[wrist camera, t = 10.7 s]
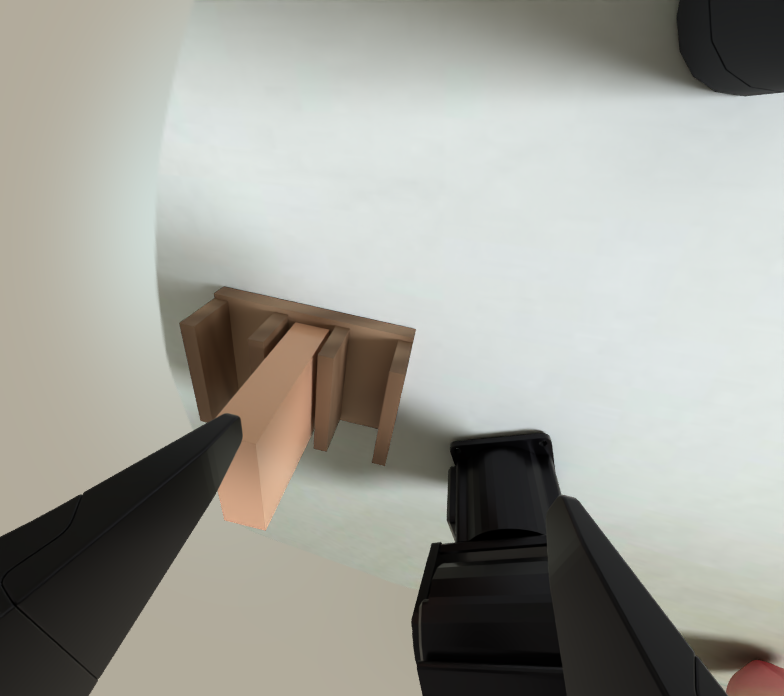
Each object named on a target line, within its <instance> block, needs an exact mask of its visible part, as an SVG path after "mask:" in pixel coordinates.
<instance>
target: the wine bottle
mask: <svg viewBox="0 0 784 696" xmlns="http://www.w3.org/2000/svg"><path fill="white" fill-rule="evenodd" d="M677 26H678V36H679V46H680V52H681V54H682V56H683V58H684V60H685V62H686V63H687V65H688V67H689V69H690V71H691V73H692V75H693V76H694V77H695V78H696V79H698V80H699V81H701V82H702V83H704V84H705V85H707V86H708V87H709V88H711V89H712V90H714V91H715V92H721V93H728V94H734V95H740V96H752V95H762V94H772V93H782V92H784V0H680V2H679V8H678V13H677Z"/></svg>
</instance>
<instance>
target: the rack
mask: <svg viewBox="0 0 784 696" xmlns="http://www.w3.org/2000/svg"><path fill="white" fill-rule="evenodd" d="M214 297H215V298H214V299H213V300H211V301H210V302H208V303H207V304H206V305H204V306H203V307H201V308H200V309H198V310H197V311H196V312H194V313H193V314H191V315H190V316H189V317H187V318H186V319H184V320H183V321H181V322H180V323H179V324H180V329H181V333H182V338H183V342H184V347H185V352H186V356H187V361H188V365H189V370H190V375H191V379H192V384H193V388H194V393H195V398H196V402H197V407H198V411H199V416H200V420H201V421H203V422H207V423H208V422H210V421H211V420H213V419H215V418H216V417H217V416H218V414H219V413H220V412H221V411H222V410H223V408H224V407H225V406H226V405H227V404H228V402H229V401H230V400H231V399H232V398H233V396H234V395H235V394H236V393H237V392H238V391H239V389H240V388H241V387H242V386H243V385H244V383H245V382H246V381H247V380H248V379H249V377H250V376H251V375H252V374H253V373H254V371H255V370H256V369H257V368H258V367H259V365H260V364H261V363H262V362H263V361H264V359H265V358H266V357H267V356H268V355H269V353H270V352H271V351H272V350H273V349H274V347H275V346H276V345H277V344H278V343H279V342H280V340H281V339H282V338H283V337H284V336H285V334H286V333H287V332H288V331H289V330H290V328H291V327H292V326H293V325H294V324H295V322H296V323H301V324H306V325H310V326H315V327H319V328H324V329H329V338H328V340H327V341H326V343H325V344H324V346H323V348H322V349H321V351H320V352H319V354H318V364H317V386H316V408H315V431H314V449H317V450H321V451H326V452H327V449H328V447H329V444H330V442H331V440H332V437H333V435H334V432H335V430H336V427H337V425H338V423H339V420H343V421H347V422H351V423H355V424H360V425H364V426H368V427H372V428H376V429H378V433H377V439H376V444H375V449H374V454H373V459H372V463H375V464H379V465H383V466H385V463H386V459H387V454H388V450H389V446H390V441H391V437H392V433H393V428H394V424H395V420H396V415H397V411H398V406H399V402H400V398H401V393H402V389H403V385H404V380H405V376H406V371H407V367H408V362H409V358H410V353H411V349H412V344H413V340H414V335H415V331H416V329H412V328H408V327H403V326H399V325H394V324H390V323H385V322H381V321H376V320H372V319H367V318H363V317H358V316H354V315H349V314H345V313H340V312H336V311H331V310H327V309H322V308H318V307H313V306H309V305H304V304H300V303H295V302H291V301H286V300H282V299H278V298H273V297H269V296H264V295H260V294H255V293H251V292H246V291H242V290H237V289H233V288H228V287H223V288H221V289H220V290H218V291H217V292H215V293H214Z"/></svg>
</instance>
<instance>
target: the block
mask: <svg viewBox="0 0 784 696" xmlns="http://www.w3.org/2000/svg"><path fill="white" fill-rule="evenodd" d="M328 338H329V329H324V328H319V327H315V326H310V325H306V324H301V323H296V322H295V324H294V325H293V326H292V327H291V328H290V330H289V331H288V332H287V333H286V334H285V336H284V337H283V338H282V339H281V340H280V342H279V343H278V344H277V345H276V346H275V347H274V349H273V350H272V351H271V352H270V353H269V355H268V356H267V357H266V358H265V359H264V361H263V362H262V363H261V364H260V365H259V367H258V368H257V369H256V370H255V371H254V373H253V374H252V375H251V376H250V377H249V379H248V380H247V381H246V382H245V383H244V385H243V386H242V387H241V388H240V389H239V391H238V392H237V393H236V394H235V395H234V396H233V398H232V399H231V400H230V401H229V402H228V404H227V405H226V406H225V407H224V408H223V410H222V411H221V412H220V413H219V414H218V416H220V415H222V414H225V413H229V414H234V415H238V416H239V417H240V418H241V424H242V432H243V438H242V442H241V444H240V446H239V448H238V450H237V452H236V454H235V457H234V459H233V461H232V463H231V465H230V467H229V469H228V471H227V473H226V475H225V477H224V479H223V481H222V483H221V485H220V487H219V489H218V494H219V499H220V502H221V507H222V511H223V516H224V520H226V521H230V522H234V523H238V524H241V525H245V526H249V527H253V528H257V529H261V530H265V531H266V529H267V527H268V525H269V523H270V521H271V518H272V516H273V514H274V512H275V510H276V508H277V506H278V504H279V502H280V500H281V498H282V496H283V494H284V491H285V489H286V487H287V485H288V483H289V481H290V479H291V477H292V475H293V473H294V471H295V469H296V467H297V464H298V462H299V460H300V458H301V456H302V454H303V452H304V450H305V448H306V446H307V444H308V442H309V440H310V437H311V435H312V433H313V431H314V429H315V408H316V386H317V364H318V354H319V352H320V351H321V349H322V348H323V346H324V344H325V343H326V341H327V340H328ZM218 416H217V417H218ZM217 417H216V418H217Z"/></svg>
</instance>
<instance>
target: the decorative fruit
mask: <svg viewBox="0 0 784 696" xmlns="http://www.w3.org/2000/svg"><path fill="white" fill-rule="evenodd" d="M726 693H727V695H728V696H784V669H783V668H780V667H778V666H775V665H773V664H771V663H768V662H765V661H761V660H753V661H751V662H750V663H748V664H747V665H746V666H744V667H743V668H742V669H740V670H739V671H738V672H736V673H735V674H734V675H733V676H732V678H731V679H730V681H729V683H728V686H727V690H726Z"/></svg>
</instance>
